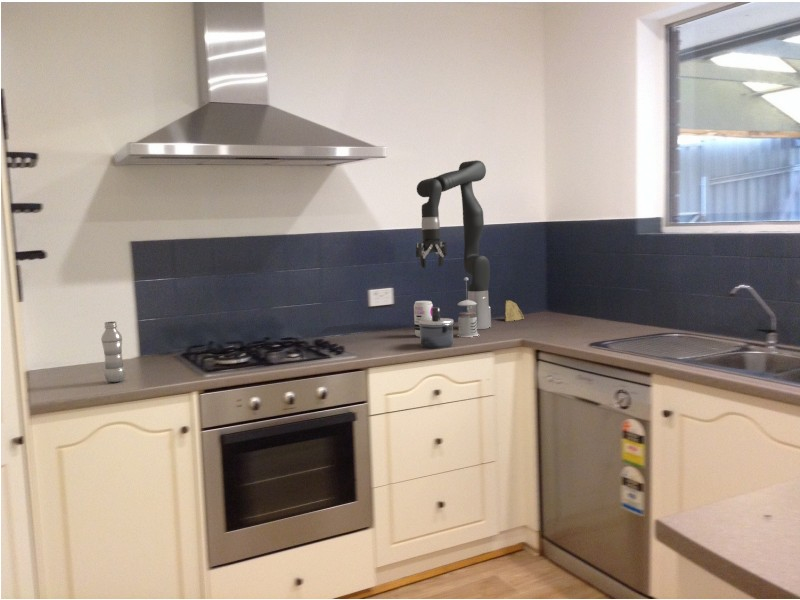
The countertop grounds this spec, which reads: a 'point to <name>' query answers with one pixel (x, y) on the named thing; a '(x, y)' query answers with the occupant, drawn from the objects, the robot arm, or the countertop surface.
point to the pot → (436, 335)
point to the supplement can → (421, 313)
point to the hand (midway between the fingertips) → (432, 267)
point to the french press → (467, 319)
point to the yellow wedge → (512, 311)
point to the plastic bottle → (113, 353)
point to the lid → (436, 319)
